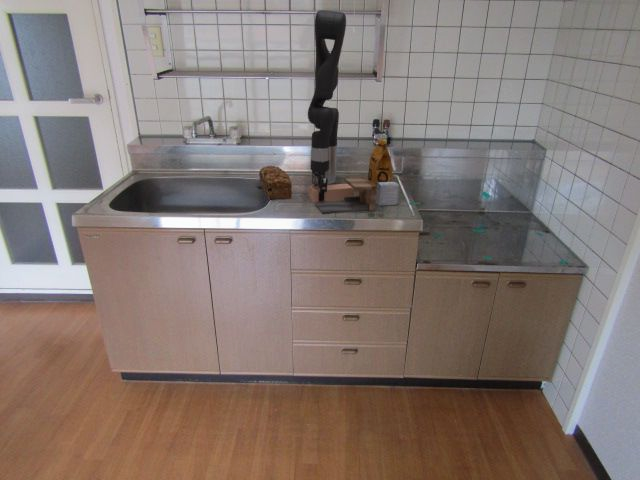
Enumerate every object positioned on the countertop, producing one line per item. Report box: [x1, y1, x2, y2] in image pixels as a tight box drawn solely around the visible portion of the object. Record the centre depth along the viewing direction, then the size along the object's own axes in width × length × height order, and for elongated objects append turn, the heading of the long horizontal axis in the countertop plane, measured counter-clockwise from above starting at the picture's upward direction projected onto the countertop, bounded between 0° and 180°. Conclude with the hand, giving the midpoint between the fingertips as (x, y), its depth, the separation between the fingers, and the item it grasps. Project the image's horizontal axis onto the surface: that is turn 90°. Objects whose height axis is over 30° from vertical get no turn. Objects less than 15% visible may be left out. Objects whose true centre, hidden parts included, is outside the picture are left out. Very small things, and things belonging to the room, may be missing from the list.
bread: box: [259, 165, 293, 201], centre depth 186 cm, size 19×11×10 cm, turn 17°
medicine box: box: [375, 181, 400, 207], centre depth 178 cm, size 8×4×9 cm, turn 102°
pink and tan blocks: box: [314, 176, 376, 215], centre depth 172 cm, size 12×21×10 cm, turn 108°
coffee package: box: [367, 138, 393, 193], centre depth 190 cm, size 10×12×22 cm
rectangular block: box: [308, 183, 356, 204], centre depth 182 cm, size 6×18×5 cm, turn 107°
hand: (319, 198), depth 181 cm, fingers closed on rectangular block, 6 cm apart
